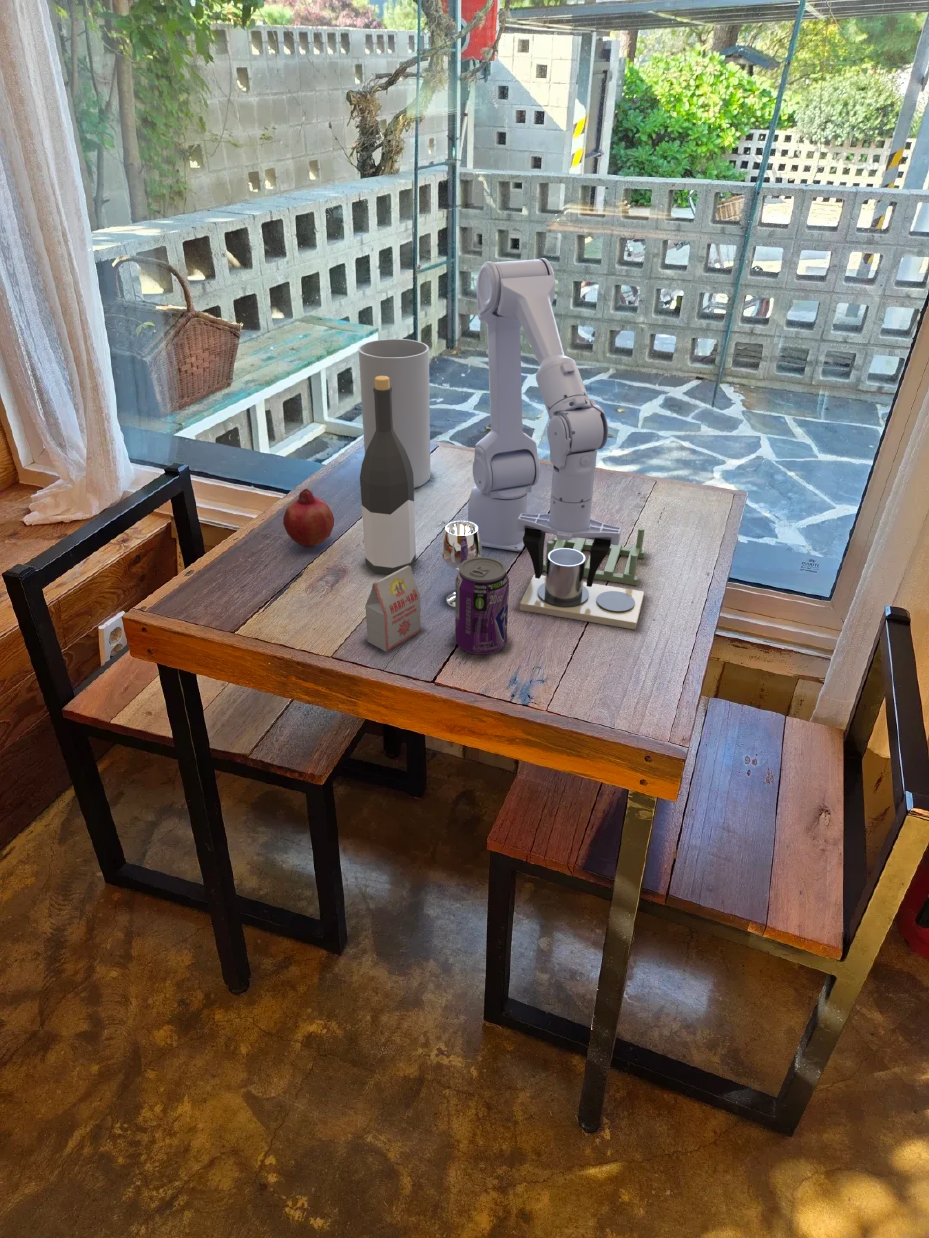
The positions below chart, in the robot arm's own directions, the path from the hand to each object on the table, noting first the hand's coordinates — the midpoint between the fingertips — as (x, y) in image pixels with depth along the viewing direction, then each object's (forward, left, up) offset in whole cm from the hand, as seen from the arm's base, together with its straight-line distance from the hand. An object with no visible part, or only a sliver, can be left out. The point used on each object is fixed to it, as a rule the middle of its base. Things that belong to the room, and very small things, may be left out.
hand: (564, 579), depth 121 cm
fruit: (-43, +4, -4) cm, 44 cm away
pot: (0, 0, -2) cm, 2 cm away
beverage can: (-8, -15, -4) cm, 17 cm away
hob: (+3, 0, -4) cm, 5 cm away
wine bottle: (-28, +2, -4) cm, 29 cm away
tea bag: (-20, -17, -4) cm, 27 cm away
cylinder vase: (-39, +34, -4) cm, 53 cm away
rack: (+3, +13, -4) cm, 14 cm away
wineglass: (-14, -5, -4) cm, 16 cm away
